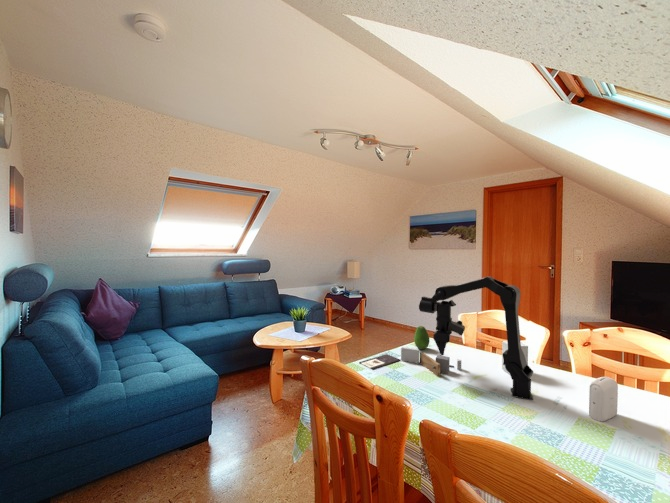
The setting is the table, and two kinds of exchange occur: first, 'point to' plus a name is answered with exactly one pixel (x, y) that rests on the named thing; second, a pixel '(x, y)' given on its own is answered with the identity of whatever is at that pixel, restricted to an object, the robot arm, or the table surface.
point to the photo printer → (603, 398)
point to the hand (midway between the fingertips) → (443, 351)
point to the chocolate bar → (379, 361)
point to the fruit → (421, 338)
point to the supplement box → (505, 347)
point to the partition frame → (417, 356)
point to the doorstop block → (443, 363)
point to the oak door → (430, 363)
